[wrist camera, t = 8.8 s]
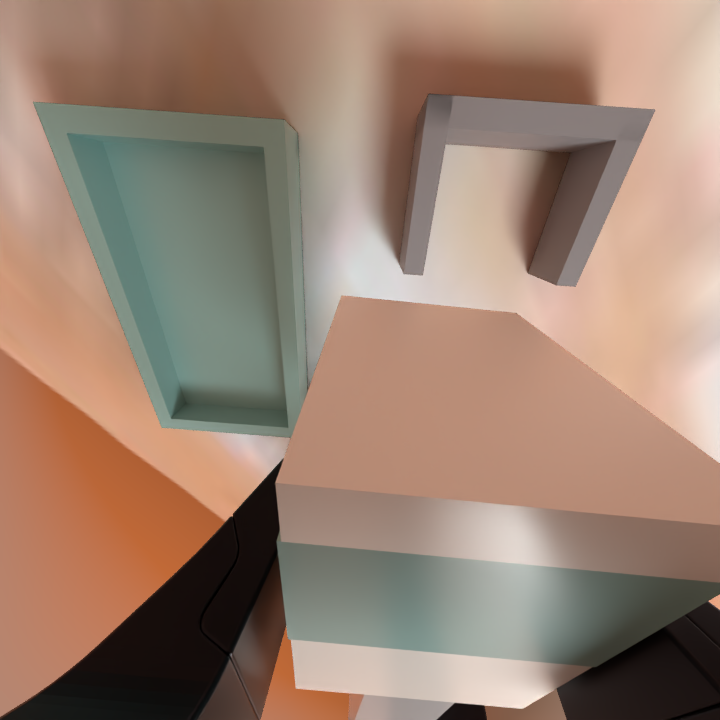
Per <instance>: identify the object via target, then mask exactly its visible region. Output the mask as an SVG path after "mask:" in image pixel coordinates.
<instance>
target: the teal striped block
mask: <svg viewBox="0 0 720 720" xmlns="http://www.w3.org/2000/svg"><path fill="white" fill-rule="evenodd" d="M275 485H276V495H277V505H278V515H279V525H280V531H279V535H278V538H277V549H278V557H279V566H280V575H281V583H282V592H283V600H284V609H285V618H286V626H287V635H288V639H291V644H292V654H293V664H294V673H295V683H296V688H297V689H308V690H319V691H330V692H341V693H350V698H349V717H348V720H437V719H438V718H439V717H440V716H441V715H442V714H443V713H444V712H445V711H446V710H448V709H449V708H450V707H451V706H452V705H453V704H454V703H464V704H476V705H487V706H498V707H510V708H520V709H523V708H525V707H526V706H528V705H530V704H531V703H533V702H534V701H536V700H538V699H540V698H541V697H543V696H545V695H546V694H548V693H550V692H551V691H553V690H555V689H557V688H558V687H560V686H562V685H563V684H565V683H567V682H568V681H570V680H572V679H573V678H575V677H577V676H578V675H580V674H582V673H583V672H585V671H587V670H588V669H590V668H592V667H597V666H599V665H600V664H602V663H604V662H605V661H607V660H609V659H610V658H612V657H614V656H616V655H617V654H619V653H621V652H622V651H624V650H626V649H627V648H629V647H631V646H633V645H634V644H636V643H638V642H639V641H641V640H643V639H644V638H646V637H648V636H650V635H651V634H653V633H655V632H656V631H658V630H660V629H661V628H663V627H665V626H666V625H668V624H670V623H672V622H673V621H675V620H677V619H678V618H680V617H682V616H683V615H685V614H687V613H689V612H690V611H692V610H694V609H695V608H697V607H699V606H700V605H702V604H704V603H706V602H707V601H709V600H711V599H712V598H714V597H716V596H717V595H719V594H720V463H718V462H717V461H716V460H714V459H713V458H711V457H710V456H709V455H707V454H706V453H705V452H703V451H702V450H701V449H699V448H698V447H697V446H695V445H694V444H693V443H691V442H690V441H688V440H687V439H686V438H684V437H683V436H682V435H680V434H679V433H678V432H676V431H675V430H674V429H672V428H671V427H670V426H668V425H667V424H665V423H664V422H663V421H661V420H660V419H659V418H657V417H656V416H655V415H653V414H652V413H651V412H649V411H648V410H647V409H645V408H644V407H643V406H641V405H640V404H638V403H637V402H636V401H634V400H633V399H632V398H630V397H629V396H628V395H626V394H625V393H624V392H622V391H621V390H620V389H618V388H617V387H615V386H614V385H613V384H611V383H610V382H609V381H607V380H606V379H605V378H603V377H602V376H601V375H599V374H598V373H597V372H595V371H594V370H593V369H591V368H590V367H588V366H587V365H586V364H584V363H583V362H582V361H580V360H579V359H578V358H576V357H575V356H574V355H572V354H571V353H570V352H568V351H567V350H565V349H564V348H563V347H561V346H560V345H559V344H557V343H556V342H555V341H553V340H552V339H551V338H549V337H548V336H547V335H545V334H544V333H543V332H541V331H540V330H538V329H537V328H536V327H534V326H533V325H532V324H530V323H529V322H528V321H526V320H525V319H524V318H522V317H521V316H520V315H518V314H517V313H511V312H501V311H491V310H481V309H471V308H461V307H451V306H441V305H431V304H422V303H412V302H402V301H392V300H382V299H372V298H362V297H352V296H341V299H340V302H339V304H338V307H337V310H336V313H335V316H334V319H333V321H332V324H331V327H330V330H329V333H328V335H327V338H326V341H325V344H324V347H323V350H322V352H321V355H320V358H319V361H318V364H317V367H316V369H315V372H314V375H313V378H312V381H311V383H310V386H309V389H308V392H307V395H306V398H305V400H304V403H303V406H302V409H301V412H300V414H299V417H298V420H297V423H296V426H295V429H294V431H293V434H292V437H291V440H290V443H289V446H288V448H287V451H286V454H285V457H284V460H283V462H282V465H281V468H280V471H279V474H278V477H277V479H276V482H275Z"/></svg>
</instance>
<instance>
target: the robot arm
mask: <svg viewBox="0 0 720 720" xmlns="http://www.w3.org/2000/svg"><path fill="white" fill-rule="evenodd" d="M283 460H284V458H283V459H282V460H281V462H280V463H279V464H278V465H277V466H276V467H275V468H274V469H273V470H272V471H271V473H270V474H269V475H268V476H267V477H266V478H265V479H264V480H263V481H262V482H261V484H260V485H259V486H258V487H257V488H256V489H255V490H254V491H253V492H252V493H251V495H250V496H249V497H248V498H247V499H246V500H245V501H244V502H243V503H242V504H241V506H240V507H239V508H238V509H237V510H236V511H235V512H234V513H233V517H232V516H231V517H229V519H228V520H227V521H226V522H225V523H224V524H223V525H222V526H221V528H220V529H219V530H218V531H217V532H216V533H215V534H214V535H213V536H212V537H211V538H210V539H209V540H208V541H207V542H206V543H205V544H204V546H203V547H202V548H201V549H200V550H199V551H198V552H197V553H196V554H195V555H194V556H193V557H192V558H191V559H190V560H189V561H188V562H187V563H185V564H184V565H183V566H182V567H181V568H180V569H179V570H178V571H177V572H176V573H175V574H174V575H173V576H172V577H171V578H170V579H169V580H168V581H166V582H165V584H163V585H162V586H161V587H160V588H159V589H158V590H157V591H156V592H155V593H154V594H153V595H152V596H150V597H149V598H148V599H147V600H146V601H145V602H144V603H143V604H142V605H141V606H140V607H139V608H138V609H136V610H135V612H133V613H132V614H131V615H130V616H129V617H128V618H127V619H126V620H125V621H124V622H123V623H121V625H119V626H118V627H117V628H116V629H115V630H114V631H113V632H112V633H111V634H110V635H108V636H107V637H106V638H105V639H104V640H103V641H102V642H101V643H100V644H99V645H98V646H97V647H95V649H93V650H92V651H91V652H90V653H89V654H88V655H87V656H85V657H84V658H83V659H82V660H81V661H80V662H79V663H77V664H76V665H75V666H73V667H72V668H71V669H70V670H68V671H67V672H66V673H65V674H63V675H62V676H61V677H59V678H58V679H57V680H56V681H54V682H53V683H52V684H50V685H49V686H47V687H46V688H44V689H43V690H41V691H40V692H39V693H37V694H36V695H34V696H33V697H31V698H30V699H28V700H27V701H25V702H24V703H22V704H20V705H19V706H17V707H16V708H14V709H12V710H11V711H9V712H8V713H6V714H4V715H3V716H1V717H0V720H260V719H261V715H262V712H263V708H264V705H265V701H266V697H267V694H268V690H269V686H270V682H271V679H272V675H273V671H274V668H275V664H276V661H277V657H278V653H279V649H280V646H281V642H282V638H283V635H284V631H285V627H286V618H285V609H284V600H283V592H282V583H281V575H280V566H279V557H278V549H277V538H278V535H279V531H280V525H279V515H278V505H277V495H276V485H275V482H276V479H277V477H278V474H279V471H280V468H281V465H282V462H283ZM557 692H558V695H559V697H560V701H561V703H562V707H563V709H564V712H565V715H566V718H567V720H720V610H719V609H718V608H716V607H715V606H714V605H712V604H711V603H710V602H709V601H707V602H706V603H704V604H702V605H700V606H699V607H697V608H695V609H694V610H692V611H690V612H689V613H687V614H685V615H683V616H682V617H680V618H678V619H677V620H675V621H673V622H672V623H670V624H668V625H666V626H665V627H663V628H661V629H660V630H658V631H656V632H655V633H653V634H651V635H650V636H648V637H646V638H644V639H643V640H641V641H639V642H638V643H636V644H634V645H633V646H631V647H629V648H627V649H626V650H624V651H622V652H621V653H619V654H617V655H616V656H614V657H612V658H610V659H609V660H607V661H605V662H604V663H602V664H600V665H599V666H597V667H592V668H590V669H588V670H587V671H585V672H583V673H582V674H580V675H578V676H577V677H575V678H573V679H572V680H570V681H568V682H567V683H565V684H563V685H562V686H560V687H558V688H557ZM437 720H487V717H486V712H485V707H484V705H476V704H464V703H454V704H453V705H452V706H451V707H450V708H449V709H448V710H446V711H445V712H444V713H443V714H442V715H441V716H440V717H439V718H438V719H437Z"/></svg>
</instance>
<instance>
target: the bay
mask: <svg viewBox="0 0 720 720" xmlns="http://www.w3.org/2000/svg"><path fill="white" fill-rule="evenodd" d="M654 112H655V110H654V109H640V108H625V107H611V106H597V105H582V104H568V103H554V102H540V101H525V100H511V99H497V98H482V97H468V96H454V95H439V94H428V96H427V98H426V100H425V102H424V104H423V106H422V109H421V111H420V113H419V115H418V119H417V126H416V134H415V142H414V150H413V158H412V165H411V173H410V181H409V189H408V197H407V205H406V212H405V220H404V228H403V236H402V244H401V252H400V259H399V265H400V267H401V269H402V271H403V274H410V275H423V271H424V265H425V259H426V254H427V248H428V242H429V236H430V230H431V225H432V219H433V213H434V207H435V201H436V196H437V190H438V184H439V178H440V173H441V167H442V161H443V155H444V149H445V144H454V145H468V146H482V147H496V148H510V149H524V150H538V151H552V152H566V153H571V154H570V156H569V159H568V162H567V165H566V168H565V170H564V173H563V176H562V179H561V182H560V184H559V187H558V190H557V193H556V196H555V198H554V201H553V204H552V207H551V210H550V212H549V215H548V218H547V221H546V224H545V226H544V229H543V232H542V235H541V238H540V240H539V243H538V246H537V249H536V252H535V254H534V257H533V260H532V263H531V266H530V268H529V271H528V274H531V275H533V276H535V277H538V278H540V279H543V280H545V281H547V282H550V283H552V284H555V285H560V286H573V287H576V285H577V282H578V280H579V278H580V276H581V273H582V271H583V269H584V267H585V265H586V262H587V260H588V258H589V256H590V254H591V251H592V249H593V247H594V245H595V242H596V240H597V238H598V236H599V234H600V231H601V229H602V227H603V225H604V223H605V220H606V218H607V216H608V214H609V211H610V209H611V207H612V205H613V203H614V200H615V198H616V196H617V194H618V192H619V189H620V187H621V185H622V183H623V180H624V178H625V176H626V174H627V172H628V169H629V167H630V165H631V163H632V161H633V158H634V156H635V154H636V152H637V149H638V147H639V145H640V143H641V141H642V138H643V136H644V134H645V132H646V130H647V127H648V125H649V123H650V121H651V118H652V116H653V114H654Z"/></svg>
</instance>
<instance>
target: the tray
mask: <svg viewBox="0 0 720 720" xmlns="http://www.w3.org/2000/svg"><path fill="white" fill-rule="evenodd" d="M33 104H34V106H35V109H36V111H37V114H38V116H39V119H40V121H41V124H42V126H43V129H44V131H45V134H46V136H47V139H48V141H49V144H50V147H51V149H52V152H53V154H54V157H55V159H56V162H57V164H58V167H59V169H60V172H61V174H62V177H63V179H64V182H65V184H66V187H67V189H68V192H69V195H70V197H71V200H72V202H73V205H74V207H75V210H76V212H77V215H78V217H79V220H80V222H81V225H82V227H83V230H84V232H85V235H86V238H87V240H88V243H89V245H90V248H91V250H92V253H93V255H94V258H95V260H96V263H97V265H98V268H99V270H100V273H101V275H102V278H103V281H104V283H105V286H106V288H107V291H108V293H109V296H110V298H111V301H112V303H113V306H114V308H115V311H116V313H117V316H118V318H119V321H120V323H121V326H122V329H123V331H124V334H125V336H126V339H127V341H128V344H129V346H130V349H131V351H132V354H133V356H134V359H135V361H136V364H137V366H138V369H139V372H140V374H141V377H142V379H143V382H144V384H145V387H146V389H147V392H148V394H149V397H150V399H151V402H152V404H153V407H154V409H155V412H156V415H157V417H158V420H159V422H160V425H161V427H162V428H173V429H186V430H199V431H212V432H225V433H238V434H250V435H263V436H276V437H289V438H291V437H292V434H293V431H294V429H295V426H296V423H297V420H298V417H299V414H300V412H301V409H302V406H303V403H304V400H305V398H306V395H307V392H308V380H307V354H306V328H305V302H304V276H303V250H302V224H301V198H300V172H299V146H298V133H297V132H296V131H295V130H294V129H293V128H292V127H291V126H290V125H289V124H288V123H287V122H286V121H285V120H284V119H270V118H255V117H241V116H227V115H213V114H199V113H185V112H170V111H156V110H142V109H128V108H114V107H100V106H85V105H71V104H57V103H43V102H33Z"/></svg>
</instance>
